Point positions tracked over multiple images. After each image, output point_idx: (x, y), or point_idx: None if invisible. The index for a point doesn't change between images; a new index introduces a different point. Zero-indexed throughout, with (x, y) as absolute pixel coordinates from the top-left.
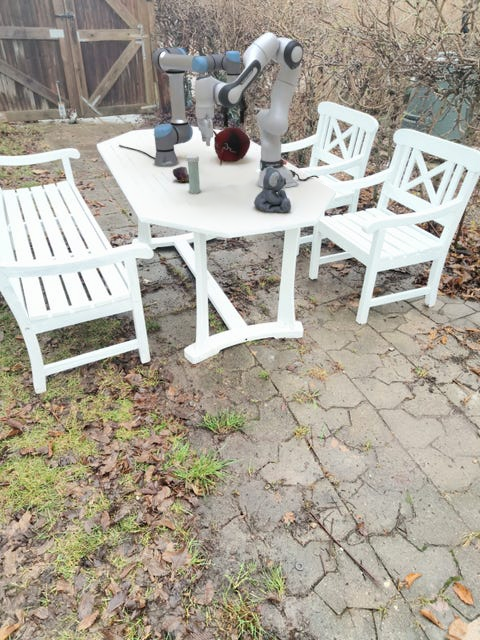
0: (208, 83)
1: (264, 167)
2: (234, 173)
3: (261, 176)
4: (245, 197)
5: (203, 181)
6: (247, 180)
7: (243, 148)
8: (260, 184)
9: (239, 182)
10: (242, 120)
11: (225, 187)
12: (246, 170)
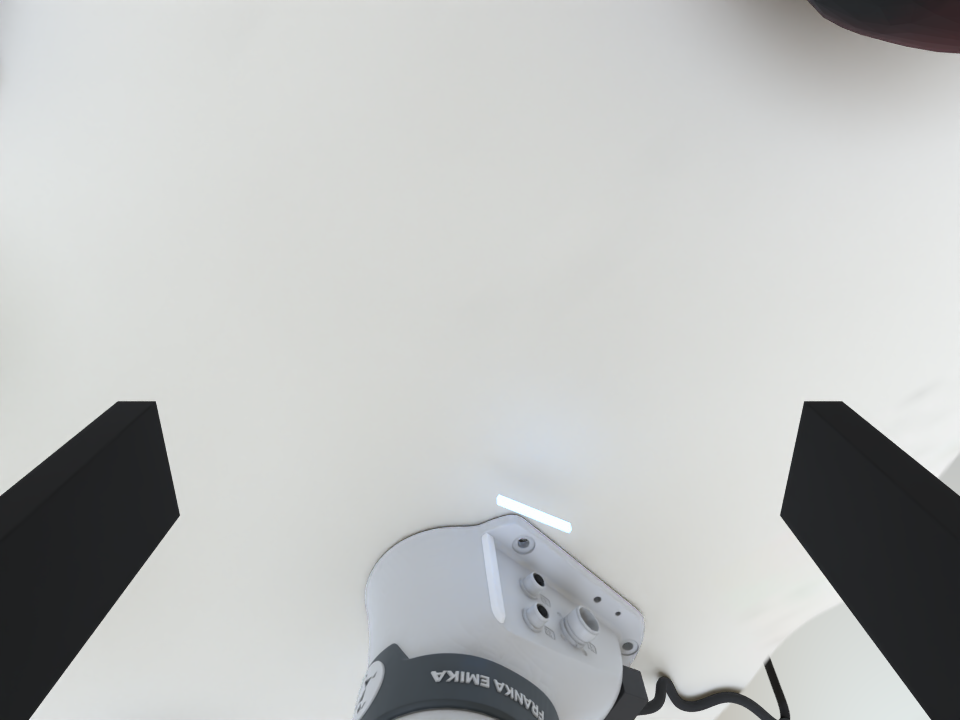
0: None
1: None
2: (485, 214)
3: (370, 637)
4: (146, 635)
5: (94, 164)
6: (413, 433)
7: (914, 44)
8: (368, 595)
9: (329, 420)
10: (823, 532)
11: (160, 422)
12: (638, 236)
